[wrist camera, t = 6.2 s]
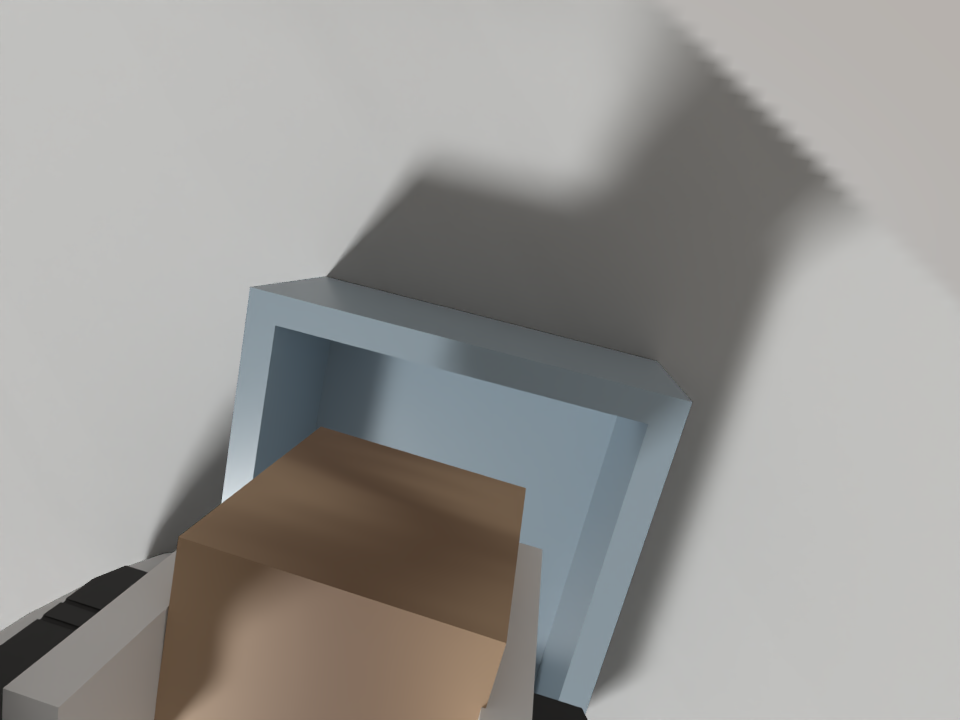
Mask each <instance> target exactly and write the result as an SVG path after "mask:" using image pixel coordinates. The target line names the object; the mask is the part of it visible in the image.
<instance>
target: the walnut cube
mask: <svg viewBox="0 0 960 720" xmlns="http://www.w3.org/2000/svg"><path fill="white" fill-rule="evenodd" d="M525 492H526V488H524V487H521V486H517V485H514V484H511V483H507V482H504V481H501V480H497V479H494V478H491V477H487V476H484V475H481V474H477V473H474V472H471V471H467V470H464V469H461V468H457V467H454V466H451V465H447V464H444V463H441V462H437V461H434V460H431V459H427V458H424V457H421V456H417V455H414V454H411V453H408V452H404V451H401V450H398V449H394V448H391V447H388V446H384V445H381V444H378V443H374V442H371V441H368V440H364V439H361V438H358V437H354V436H351V435H348V434H344V433H341V432H338V431H334V430H331V429H328V428H324V427H320V428H318V429H317V430H316V431H314V432H313V433H312V434H311V435H309V436H308V437H307V438H305V439H304V440H303V441H302V442H300V443H299V444H298V445H296V446H295V447H294V448H292V449H291V450H290V451H289V452H287V453H286V454H285V455H283V456H282V457H281V458H280V459H278V460H277V461H276V462H274V463H273V464H272V465H271V466H269V467H268V468H267V469H265V470H264V471H263V472H262V473H260V474H259V475H258V476H256V477H255V478H254V479H252V480H251V481H250V482H249V483H247V484H246V485H245V486H243V487H242V488H241V489H240V490H238V491H237V492H236V493H234V494H233V495H232V496H231V497H229V498H228V499H227V500H225V501H224V502H223V503H221V504H220V505H219V506H218V507H216V508H215V509H214V510H212V511H211V512H210V513H209V514H207V515H206V516H205V517H203V518H202V519H201V520H200V521H198V522H197V523H196V524H194V525H193V526H192V527H191V528H189V529H188V530H187V531H185V532H184V533H183V534H181V535H180V536H179V537H178V543H177V551H176V558H175V565H174V573H173V580H172V587H171V595H170V602H169V609H168V617H167V624H166V631H165V638H164V646H163V653H162V660H161V668H160V675H159V682H158V690H157V699H156V708H155V717H154V720H478V718H479V714H480V711H481V707H483V708H486V706H487V703H488V700H489V697H490V693H491V690H492V687H493V684H494V681H495V678H496V674H497V671H498V668H499V665H500V662H501V659H502V656H503V652H504V649H505V646H506V643H507V635H508V627H509V619H510V611H511V603H512V595H513V587H514V579H515V571H516V563H517V556H518V548H519V540H520V532H521V524H522V516H523V508H524V500H525Z"/></svg>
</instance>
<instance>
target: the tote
mask: <svg viewBox="0 0 960 720" xmlns="http://www.w3.org/2000/svg"><path fill="white" fill-rule="evenodd" d="M691 405H692V401H691V400H690V399H689V397H688V396H687V395H686V394H685V393H684V392H683V391H682V389H681V388H680V387H679V386H678V385H677V384H676V382H675V381H674V380H673V379H672V378H671V377H670V375H669V374H668V373H667V372H666V371H665V370H664V368H663V367H662V366H661V365H660V364H659V363H658V361H655V360H651V359H647V358H643V357H639V356H635V355H631V354H627V353H623V352H619V351H616V350H612V349H608V348H604V347H600V346H596V345H592V344H588V343H584V342H580V341H576V340H572V339H569V338H565V337H561V336H557V335H553V334H549V333H545V332H541V331H537V330H533V329H529V328H525V327H522V326H518V325H514V324H510V323H506V322H502V321H498V320H494V319H490V318H486V317H482V316H478V315H475V314H471V313H467V312H463V311H459V310H455V309H451V308H447V307H443V306H439V305H435V304H431V303H428V302H424V301H420V300H416V299H412V298H408V297H404V296H400V295H396V294H392V293H388V292H384V291H380V290H377V289H373V288H369V287H365V286H361V285H357V284H353V283H349V282H345V281H341V280H337V279H333V278H330V277H326V276H325V277H318V278H311V279H304V280H297V281H290V282H282V283H275V284H268V285H261V286H254V287H250V292H249V300H248V307H247V315H246V322H245V330H244V337H243V345H242V352H241V360H240V367H239V375H238V382H237V389H236V397H235V404H234V412H233V419H232V427H231V434H230V442H229V449H228V457H227V464H226V472H225V479H224V487H223V494H222V502H221V503H223V502H224V501H225V500H227V499H228V498H229V497H231V496H232V495H233V494H234V493H236V492H237V491H238V490H240V489H241V488H242V487H243V486H245V485H246V484H247V483H249V482H250V481H251V480H252V479H254V478H255V477H256V476H258V475H259V474H260V473H262V472H263V471H264V470H265V469H267V468H268V467H269V466H271V465H272V464H273V463H274V462H276V461H277V460H278V459H280V458H281V457H282V456H283V455H285V454H286V453H287V452H289V451H290V450H291V449H292V448H294V447H295V446H296V445H298V444H299V443H300V442H302V441H303V440H304V439H305V438H307V437H308V436H309V435H311V434H312V433H313V432H314V431H316V430H317V429H318V428H320V427H324V428H328V429H331V430H334V431H338V432H341V433H344V434H348V435H351V436H354V437H358V438H361V439H364V440H368V441H371V442H374V443H378V444H381V445H384V446H388V447H391V448H394V449H398V450H401V451H404V452H408V453H411V454H414V455H417V456H421V457H424V458H427V459H431V460H434V461H437V462H441V463H444V464H447V465H451V466H454V467H457V468H461V469H464V470H467V471H471V472H474V473H477V474H481V475H484V476H487V477H491V478H494V479H497V480H501V481H504V482H507V483H511V484H514V485H517V486H521V487H524V488H526V492H525V500H524V508H523V516H522V524H521V532H520V540H519V543H522V544H526V545H529V546H532V547H536V548H539V549H543V550H542V566H541V583H540V599H539V615H538V632H537V648H536V664H535V681H534V693H536V694H539V695H543V696H546V697H549V698H552V699H555V700H558V701H561V702H565V703H568V704H571V705H574V706H577V707H580V708H582V709H583V711H584V713H586V711H587V708H588V705H589V702H590V699H591V696H592V693H593V690H594V687H595V684H596V681H597V678H598V676H599V673H600V670H601V667H602V664H603V661H604V658H605V655H606V652H607V649H608V646H609V644H610V641H611V638H612V635H613V632H614V629H615V626H616V623H617V620H618V617H619V614H620V611H621V609H622V606H623V603H624V600H625V597H626V594H627V591H628V588H629V585H630V582H631V579H632V577H633V574H634V571H635V568H636V565H637V562H638V559H639V556H640V553H641V550H642V547H643V544H644V542H645V539H646V536H647V533H648V530H649V527H650V524H651V521H652V518H653V515H654V512H655V509H656V507H657V504H658V501H659V498H660V495H661V492H662V489H663V486H664V483H665V480H666V477H667V475H668V472H669V469H670V466H671V463H672V460H673V457H674V454H675V451H676V448H677V445H678V442H679V440H680V437H681V434H682V431H683V428H684V425H685V422H686V419H687V416H688V413H689V410H690V408H691Z"/></svg>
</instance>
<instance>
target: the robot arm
mask: <svg viewBox="0 0 960 720" xmlns="http://www.w3.org/2000/svg"><path fill="white" fill-rule="evenodd" d="M542 550H543V549H539V548H536V547H532V546H529V545H526V544H522V543H519V548H518V556H517V563H516V571H515V579H514V587H513V595H512V603H511V611H510V619H509V627H508V635H507V643H506V646H505V649H504V652H503V656H502V659H501V662H500V665H499V668H498V671H497V674H496V678H495V681H494V684H493V687H492V690H491V693H490V697H489V700H488V703H487V706H486V708H483V707H481V711H480V714H479V718H478V720H587V718H586V716H585V713H584V711H583V709H582V708H580V707H577V706H574V705H571V704H568V703H565V702H561V701H558V700H555V699H552V698H549V697H546V696H543V695H539V694H536V693H534V681H535V664H536V648H537V632H538V615H539V599H540V583H541V566H542ZM176 551H177V550H176ZM176 551H175V552H173V553H172V554H171V555H169V556H168V557H167V558H166V559H164V560H163V561H162V562H161V563H159V564H158V565H157V566H156V567H154V568H153V569H152V570H151V571H149V572H145V571H142V570H139V569H136V568H133V567H129V566H124V567H121V568H119V569H116V570H114V571H111V572H109V573H106V574H104V575H101V576H99V577H96V578H94V579H92V580H91V581H89V582H88V583H87V584H85V585H84V586H82V587H81V588H80V589H78V590H77V591H75V592H74V593H73V594H71V595H70V596H68V597H67V598H66V600H65V601H64V602H63V603H62V602H60V603H59V604H57V605H56V606H54V607H53V608H52V609H50V610H49V611H47V612H46V613H45V614H43V617H42V618H41V619H40V620H39V619H36V620H35V621H34V622H32V623H31V624H29V625H28V626H27V627H25V628H24V629H22V630H21V631H20V632H18V633H17V634H15V635H14V636H13V637H11V638H10V639H8V640H7V641H6V642H4V643H3V644H1V645H0V720H154V717H155V708H156V699H157V690H158V682H159V675H160V668H161V660H162V653H163V646H164V638H165V631H166V624H167V617H168V609H169V602H170V595H171V587H172V580H173V573H174V565H175V558H176Z"/></svg>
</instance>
